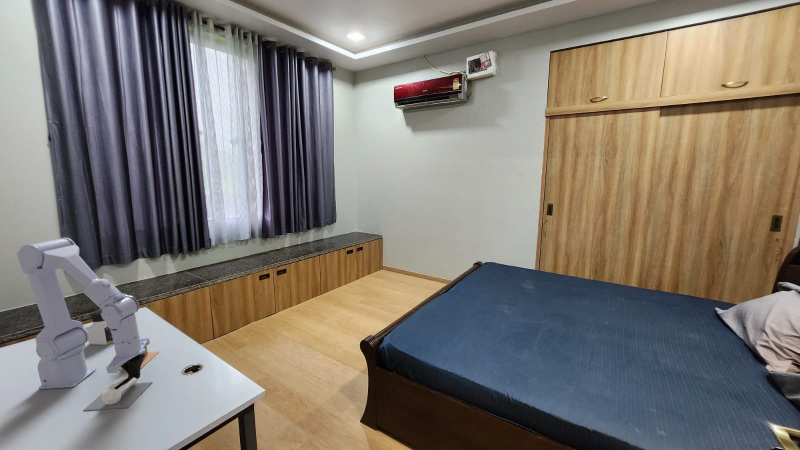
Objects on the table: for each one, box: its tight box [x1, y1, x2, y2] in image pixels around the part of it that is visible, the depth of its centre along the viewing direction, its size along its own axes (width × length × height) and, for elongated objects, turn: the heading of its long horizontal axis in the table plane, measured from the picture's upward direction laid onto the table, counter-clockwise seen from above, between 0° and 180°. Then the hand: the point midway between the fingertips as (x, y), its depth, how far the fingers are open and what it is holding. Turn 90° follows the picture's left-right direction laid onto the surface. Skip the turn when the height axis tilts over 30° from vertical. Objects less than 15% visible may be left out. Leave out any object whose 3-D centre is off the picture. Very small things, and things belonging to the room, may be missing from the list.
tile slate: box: [83, 381, 153, 412], centre depth 89 cm, size 11×10×1 cm
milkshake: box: [101, 374, 138, 406], centre depth 88 cm, size 4×5×10 cm
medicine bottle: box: [85, 308, 114, 345], centre depth 116 cm, size 7×7×12 cm
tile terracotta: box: [118, 351, 160, 371], centre depth 104 cm, size 9×9×1 cm
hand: (134, 378), depth 93 cm, fingers closed, pressing on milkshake
